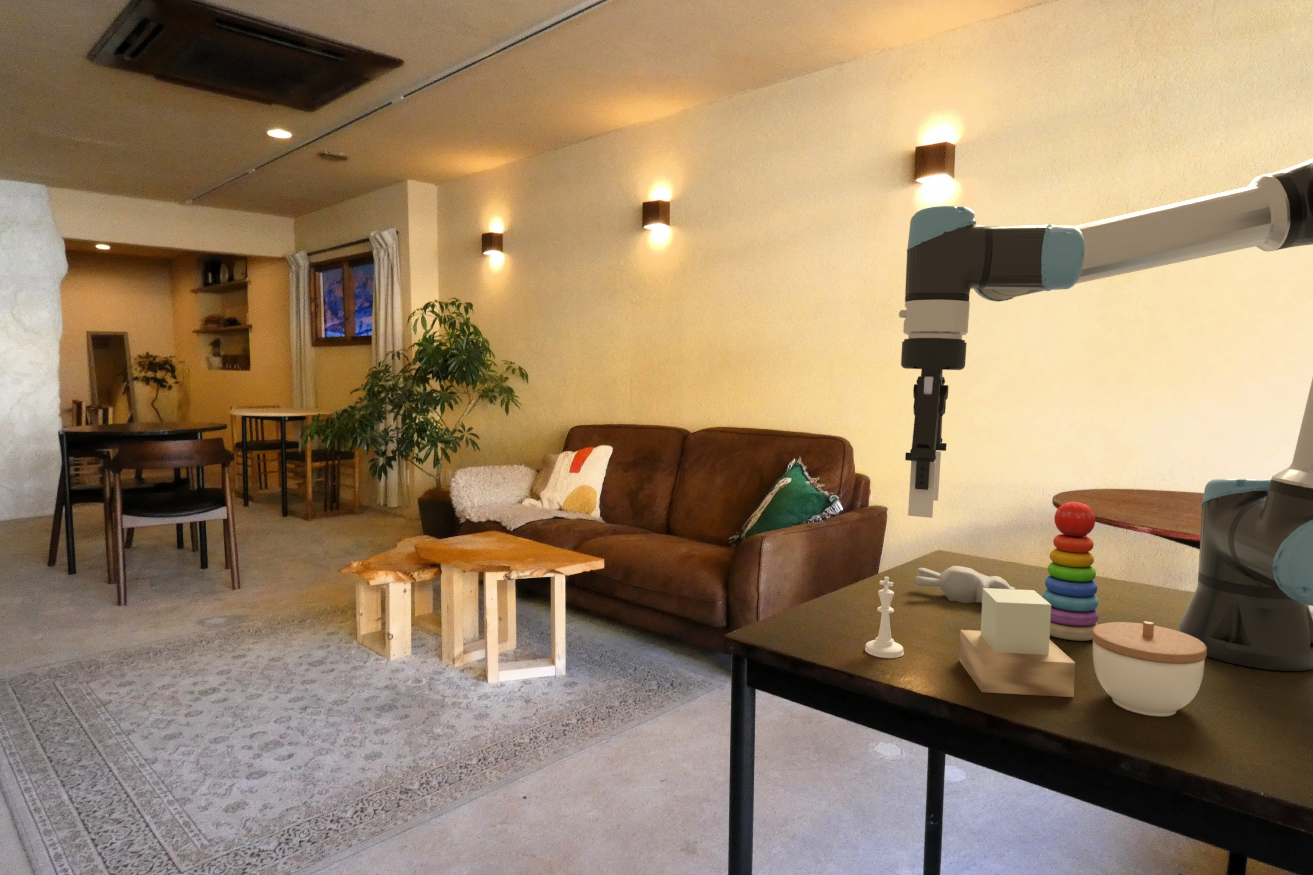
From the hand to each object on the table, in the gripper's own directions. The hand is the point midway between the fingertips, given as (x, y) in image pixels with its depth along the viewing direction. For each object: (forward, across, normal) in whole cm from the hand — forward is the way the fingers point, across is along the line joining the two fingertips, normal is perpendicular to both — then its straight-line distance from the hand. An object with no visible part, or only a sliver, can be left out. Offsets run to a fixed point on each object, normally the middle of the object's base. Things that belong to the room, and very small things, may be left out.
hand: (923, 507), depth 99 cm
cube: (+15, +2, +11) cm, 19 cm away
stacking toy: (+19, -19, +19) cm, 33 cm away
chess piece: (+20, -1, -4) cm, 20 cm away
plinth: (+19, +2, +11) cm, 23 cm away
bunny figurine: (+20, -31, +5) cm, 37 cm away
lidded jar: (+19, +4, +25) cm, 32 cm away
